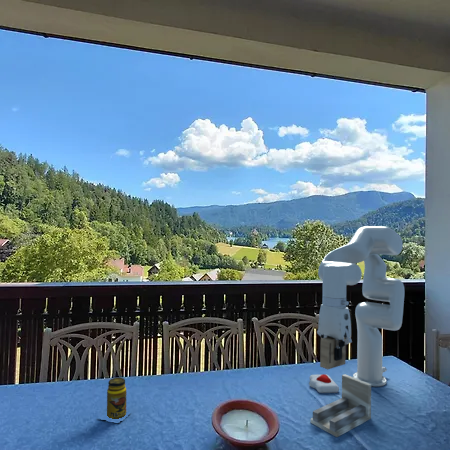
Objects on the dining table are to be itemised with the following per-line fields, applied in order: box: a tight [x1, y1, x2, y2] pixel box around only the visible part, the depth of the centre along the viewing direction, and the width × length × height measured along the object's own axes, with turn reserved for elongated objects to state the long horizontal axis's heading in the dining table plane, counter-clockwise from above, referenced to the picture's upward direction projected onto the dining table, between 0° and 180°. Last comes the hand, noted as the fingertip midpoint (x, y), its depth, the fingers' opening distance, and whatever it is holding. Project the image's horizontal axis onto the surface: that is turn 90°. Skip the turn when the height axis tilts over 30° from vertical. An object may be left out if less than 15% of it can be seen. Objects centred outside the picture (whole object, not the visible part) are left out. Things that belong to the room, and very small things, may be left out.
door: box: [319, 337, 347, 370], centre depth 120 cm, size 9×3×9 cm, turn 125°
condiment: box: [106, 376, 127, 419], centre depth 119 cm, size 7×8×12 cm
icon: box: [308, 374, 340, 394], centre depth 143 cm, size 12×4×10 cm
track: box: [309, 373, 372, 438], centre depth 118 cm, size 18×10×11 cm, turn 127°
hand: (333, 357), depth 120 cm, fingers closed on door, 3 cm apart
